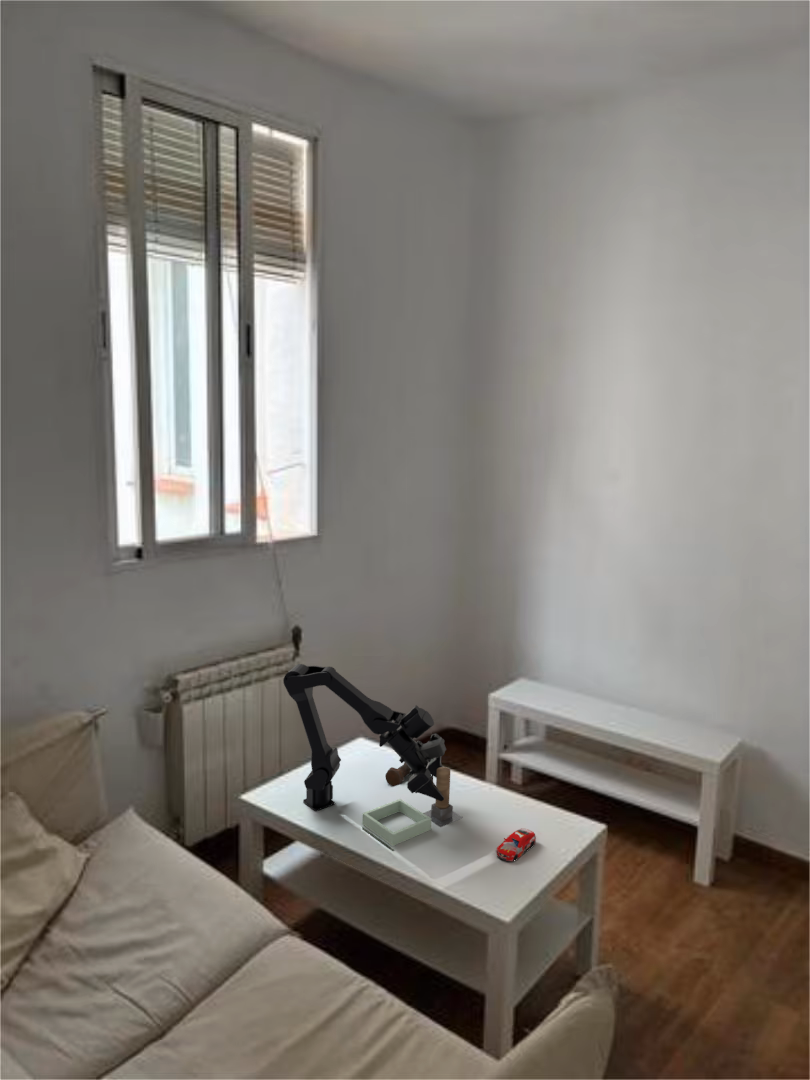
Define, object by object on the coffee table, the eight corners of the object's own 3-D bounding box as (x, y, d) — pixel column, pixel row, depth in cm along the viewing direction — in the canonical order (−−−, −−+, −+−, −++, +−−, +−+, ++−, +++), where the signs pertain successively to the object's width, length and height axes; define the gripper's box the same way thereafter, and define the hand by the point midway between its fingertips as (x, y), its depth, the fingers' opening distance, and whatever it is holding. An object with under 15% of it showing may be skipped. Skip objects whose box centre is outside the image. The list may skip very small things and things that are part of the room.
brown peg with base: (441, 821, 208) (443, 775, 206) (431, 814, 211) (432, 769, 209) (452, 816, 211) (454, 771, 208) (442, 810, 214) (444, 765, 211)
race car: (510, 866, 192) (511, 851, 191) (492, 857, 196) (492, 842, 195) (539, 844, 202) (540, 829, 201) (521, 836, 205) (522, 821, 205)
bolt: (420, 773, 242) (394, 791, 229) (408, 761, 243) (382, 779, 231) (429, 759, 239) (403, 777, 227) (417, 748, 241) (391, 765, 228)
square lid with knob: (440, 832, 206) (441, 817, 205) (420, 819, 212) (420, 804, 211) (462, 822, 211) (463, 808, 210) (442, 810, 217) (443, 795, 216)
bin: (392, 851, 196) (393, 834, 196) (362, 829, 206) (362, 813, 205) (430, 834, 204) (431, 818, 204) (399, 814, 214) (400, 798, 213)
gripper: (420, 744, 198) (463, 791, 198) (434, 715, 216) (473, 758, 216) (389, 770, 202) (431, 816, 201) (405, 739, 219) (443, 781, 219)
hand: (446, 791), depth 209 cm, fingers open, 9 cm apart
